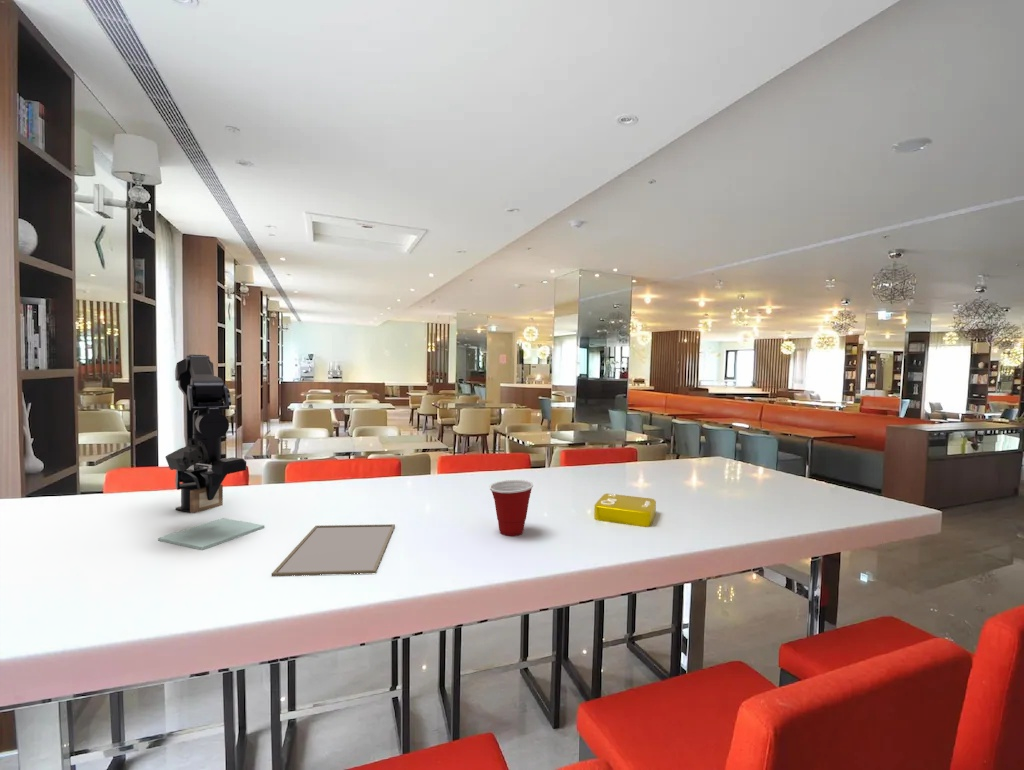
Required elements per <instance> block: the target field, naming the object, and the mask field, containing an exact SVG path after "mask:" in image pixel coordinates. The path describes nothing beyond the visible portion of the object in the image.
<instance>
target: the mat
mask: <svg viewBox="0 0 1024 770" xmlns="http://www.w3.org/2000/svg"><path fill="white" fill-rule="evenodd" d="M262 529H265V524H259V523H253V522H247V521H243V520H236V519H230V518H226V517H222V518H219V519H215V520H211V521H209V522H206V523H203V524H202V523H201V524H199V525H196V526H193V527H188V528H186V529H183V530H179V531H177V532H173V533H169V534H166V535H163V536H159V537H157V541H159V542H164V543H167V544H172V545H178V546H182V547H186V548H189V549H190V548H192V549H196V550H201V551H203V550H206V549H209V548H212V547H215V546H217V545H220V544H223V543H225V542H228V541H232V540H234V539H237V538H239V537H243V536H245V535H248V534H251V533H254V532H257V531H260V530H262Z"/></svg>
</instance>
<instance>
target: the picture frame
mask: <svg viewBox="0 0 1024 770" xmlns="http://www.w3.org/2000/svg"><path fill="white" fill-rule="evenodd" d="M394 529H396V524H342V525H340V524H339V525H337V524H335V525H333V524H332V525H331V524H329V525H315V526H314V527H313V528H312V529H311V530H310V531H309V532H308V533H307V535H305V537H303V539H301V541H300V542H299V543H298V544H297V545H296V546H295V547H294V549H292V550H291V551H290V553H289V554H288V555H287V556H286V557H285V558H284V559H283V561H282V562H281V563H280V564H279V565H278V566H277V567H276V568H275V569H274V571H272V572H271V577H299V576H302V575H303V576H304V575H305V576H306V575H307V576H308V575H309V576H323V575H322V574H351V575H361V574H360V573H377V571H378V569H379V567H380V564H381V562H380V561H382V559H383V557H384V555H385V552H386V549H387V547H388V544H389V542H390V540H391V538H392V535H393V533H394ZM377 568H378V569H377ZM354 573H355V574H354ZM357 573H358V574H357ZM320 574H321V575H320ZM292 575H293V576H292ZM294 575H295V576H294ZM303 576H302V577H303ZM305 576H304V577H305Z"/></svg>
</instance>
